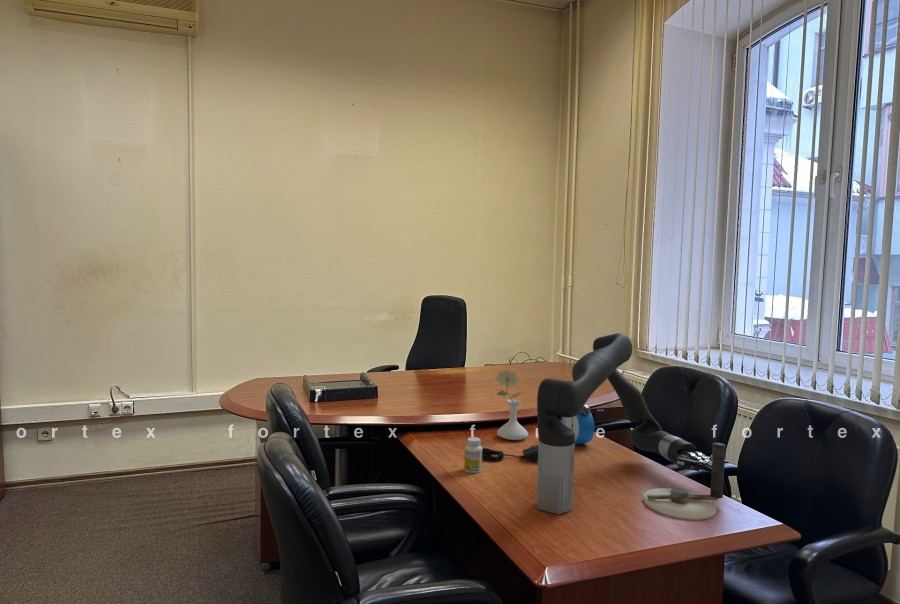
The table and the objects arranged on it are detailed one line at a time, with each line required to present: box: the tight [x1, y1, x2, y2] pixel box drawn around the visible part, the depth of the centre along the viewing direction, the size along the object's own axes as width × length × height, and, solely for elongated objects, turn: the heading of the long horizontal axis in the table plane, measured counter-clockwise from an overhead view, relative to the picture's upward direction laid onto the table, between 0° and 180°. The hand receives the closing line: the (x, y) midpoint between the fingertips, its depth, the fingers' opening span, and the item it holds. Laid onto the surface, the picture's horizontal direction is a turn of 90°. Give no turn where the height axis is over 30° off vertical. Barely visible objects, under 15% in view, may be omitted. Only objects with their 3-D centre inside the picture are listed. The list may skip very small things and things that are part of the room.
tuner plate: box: [642, 487, 718, 521], centre depth 148 cm, size 18×18×1 cm
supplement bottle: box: [463, 436, 483, 474], centre depth 171 cm, size 5×5×10 cm
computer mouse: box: [482, 444, 538, 463], centre depth 183 cm, size 9×32×6 cm, turn 91°
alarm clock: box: [560, 403, 595, 447], centre depth 200 cm, size 13×6×15 cm, turn 20°
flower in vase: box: [496, 369, 529, 441], centre depth 205 cm, size 13×11×25 cm
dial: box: [647, 442, 726, 504], centre depth 148 cm, size 20×4×15 cm, turn 92°
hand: (718, 472), depth 150 cm, fingers closed
